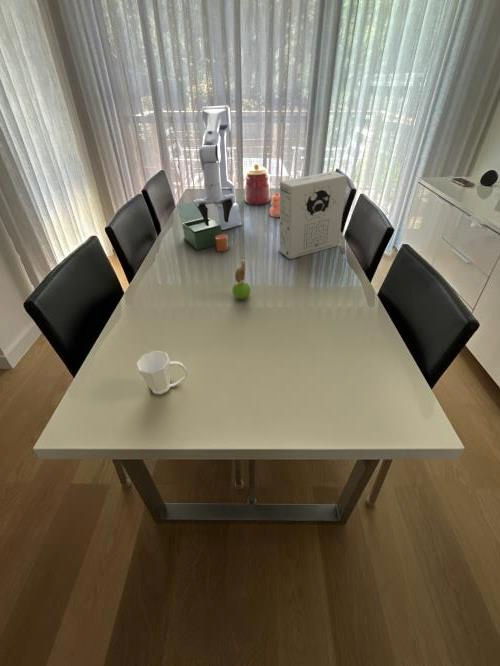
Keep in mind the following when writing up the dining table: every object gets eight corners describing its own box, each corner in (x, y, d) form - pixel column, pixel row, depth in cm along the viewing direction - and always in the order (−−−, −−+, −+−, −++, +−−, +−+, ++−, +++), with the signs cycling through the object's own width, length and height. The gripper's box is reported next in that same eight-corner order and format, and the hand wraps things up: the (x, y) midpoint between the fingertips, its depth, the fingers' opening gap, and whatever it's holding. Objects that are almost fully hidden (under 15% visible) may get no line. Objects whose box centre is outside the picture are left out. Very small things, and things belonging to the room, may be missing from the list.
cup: (147, 377, 79) (138, 352, 74) (190, 372, 79) (184, 347, 74) (143, 401, 73) (133, 375, 68) (189, 395, 74) (182, 369, 69)
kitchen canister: (243, 205, 170) (240, 167, 158) (247, 196, 179) (245, 160, 168) (268, 205, 168) (268, 166, 156) (271, 196, 177) (271, 160, 166)
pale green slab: (182, 221, 136) (181, 221, 136) (207, 215, 140) (206, 215, 140) (177, 204, 134) (176, 205, 134) (202, 199, 138) (202, 199, 138)
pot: (225, 245, 134) (224, 233, 131) (230, 249, 130) (229, 237, 127) (214, 248, 132) (212, 236, 129) (219, 252, 129) (218, 240, 126)
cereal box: (327, 238, 133) (333, 170, 118) (339, 245, 128) (347, 175, 112) (279, 251, 127) (279, 181, 111) (289, 259, 121) (291, 186, 106)
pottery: (306, 208, 161) (307, 187, 155) (310, 215, 154) (311, 193, 147) (268, 211, 160) (268, 190, 154) (271, 218, 153) (270, 196, 147)
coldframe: (184, 238, 141) (181, 221, 136) (209, 232, 145) (207, 215, 140) (197, 250, 132) (194, 231, 127) (222, 242, 136) (221, 224, 131)
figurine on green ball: (254, 292, 105) (252, 257, 98) (247, 303, 101) (245, 267, 93) (238, 290, 107) (235, 255, 99) (230, 301, 102) (226, 265, 95)
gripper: (196, 189, 112) (201, 229, 120) (236, 183, 117) (239, 222, 124) (190, 185, 117) (195, 224, 125) (228, 179, 122) (231, 218, 130)
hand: (216, 223), depth 125 cm, fingers open, 7 cm apart
